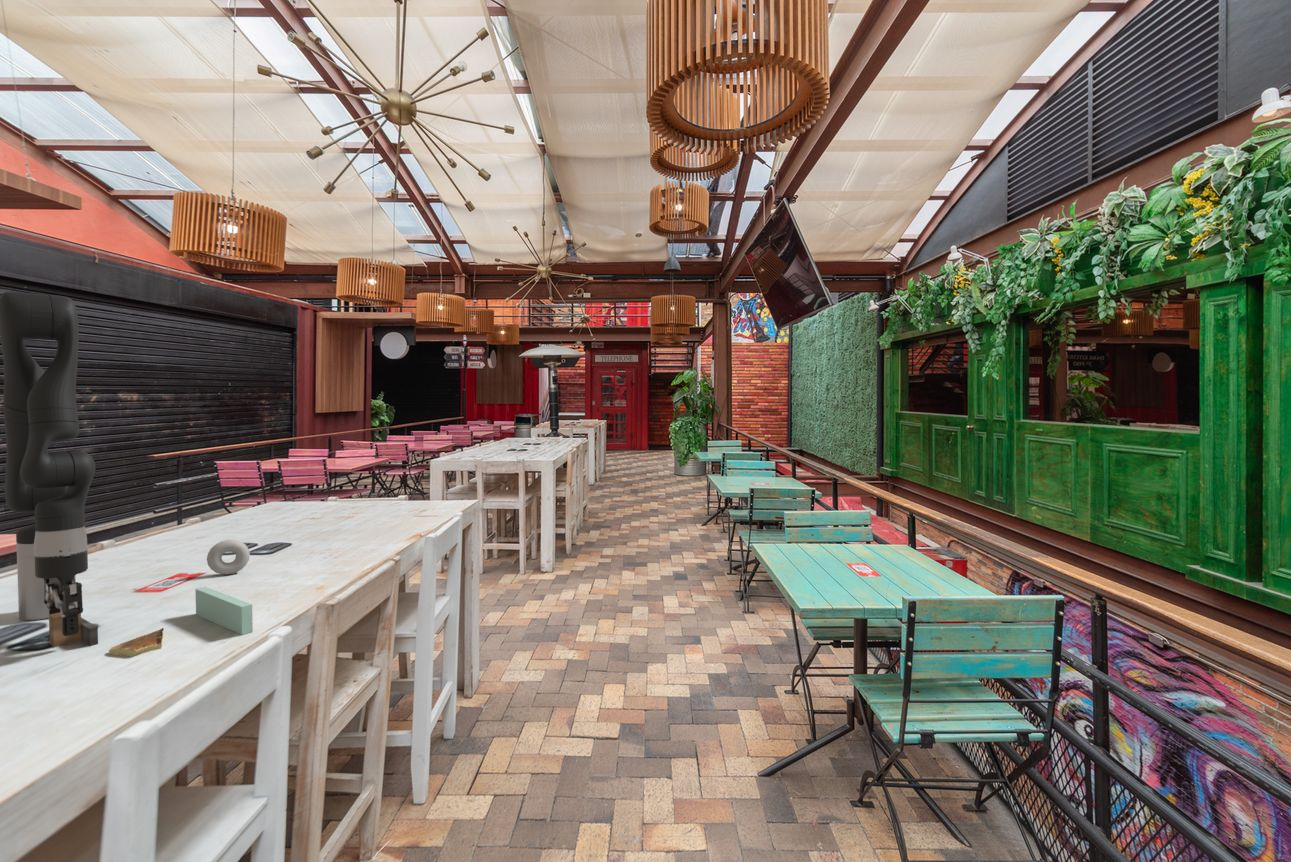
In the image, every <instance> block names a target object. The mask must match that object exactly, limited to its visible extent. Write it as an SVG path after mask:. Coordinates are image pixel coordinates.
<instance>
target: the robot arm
mask: <svg viewBox="0 0 1291 862" xmlns="http://www.w3.org/2000/svg"><path fill="white" fill-rule="evenodd" d="M79 327H80V326H79V315H78V309H77V306H76V304H75V302H74V301H73V299H71V298H70V297H68V296H63V295H56V294H55V295H54V294H44V293H35V292H33V293H32V292H23V291H5V292H3V293H2V294H0V343H1V353H2V358H3V361H2V362H3V402H2V403H3V418H4V420H3V421H4V428H5V429H4V430H5V440H6V459H5V460H6V461H5V462H6V463H5V478H4V479H5V480H4V498H5V504H6V506H7V508H8V510H10V511H12V512H14V513H27V512H34V524H29V525H26V526H24V527H22V528H20V529H18V530H17V531H16V534H15V540H16V541H15V542H16V565H17V567H16V570H17V571H16V572H17V597H18V599H17V601H18V603H17V604H18V619H20V620H21V621H35V620H43V619H44V620H45V619H49V615H51V614H55V613H60V612H61V616H62V634H63V635H64V636H69V635H73V634H76V633H78V631H79V627H78V614H80V613H81V614H82V613H83V612H84V608H83V605H84V604H83V591H82V588H83V584H82V582H79V581H77V580H76V575H78V574H82V573H84V572H87V570H88V569H89V563H88V562H89V561H88V555H89V554H88V537H87V536H88V535H87V531H86V518H85V517H86V515H85V511H86V510H85V507H86V506H85V505H86V501H87V498H88V493H89V491H90V487H91V485H92V481H93V480H94V476H95V473H96V461H95V460H94V458H93V456H91V455H90V454H89V453H87V452H84V451H53V452H48V449H49V447H50V445H51V444H53V443H54V444H55V443H58V442H65V441H70V440H73V439H76V438H77V437H78V436H79V434H80V425H79V416H78V408H77V407H78V406H77V397H76V396H77V394H76V393H77V391H76V389H77V374H78V359H79V358H78V357H79V330H80V329H79ZM25 340H41V341H55V342H57V347H56V353H55V355H54V358H53V360H52V361H51V363H50V364H49V366H48V368H47V369H46V370H44V369H43V368H42V367H41V366H40V365H39V364H38V363H37V361H36V360H35V359H34V358H33V356H32V355H31V353H30V351H29V350H28V349H27V347H26V344H25V343H24V341H25Z"/></svg>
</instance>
